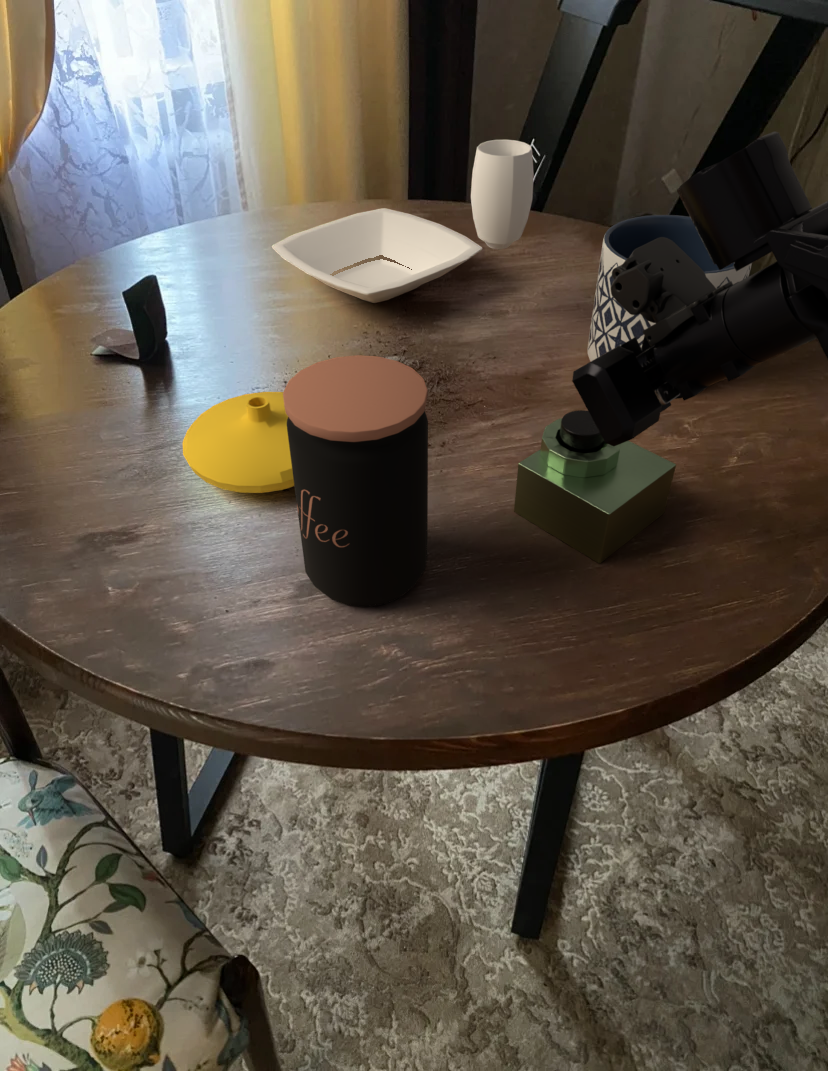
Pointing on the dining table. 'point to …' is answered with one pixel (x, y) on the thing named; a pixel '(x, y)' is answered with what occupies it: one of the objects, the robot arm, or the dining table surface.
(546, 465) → the push button box
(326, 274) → the bowl
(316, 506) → the coffee jar
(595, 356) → the planter
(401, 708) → the dining table surface
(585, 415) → the button
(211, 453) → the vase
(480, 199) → the cup
